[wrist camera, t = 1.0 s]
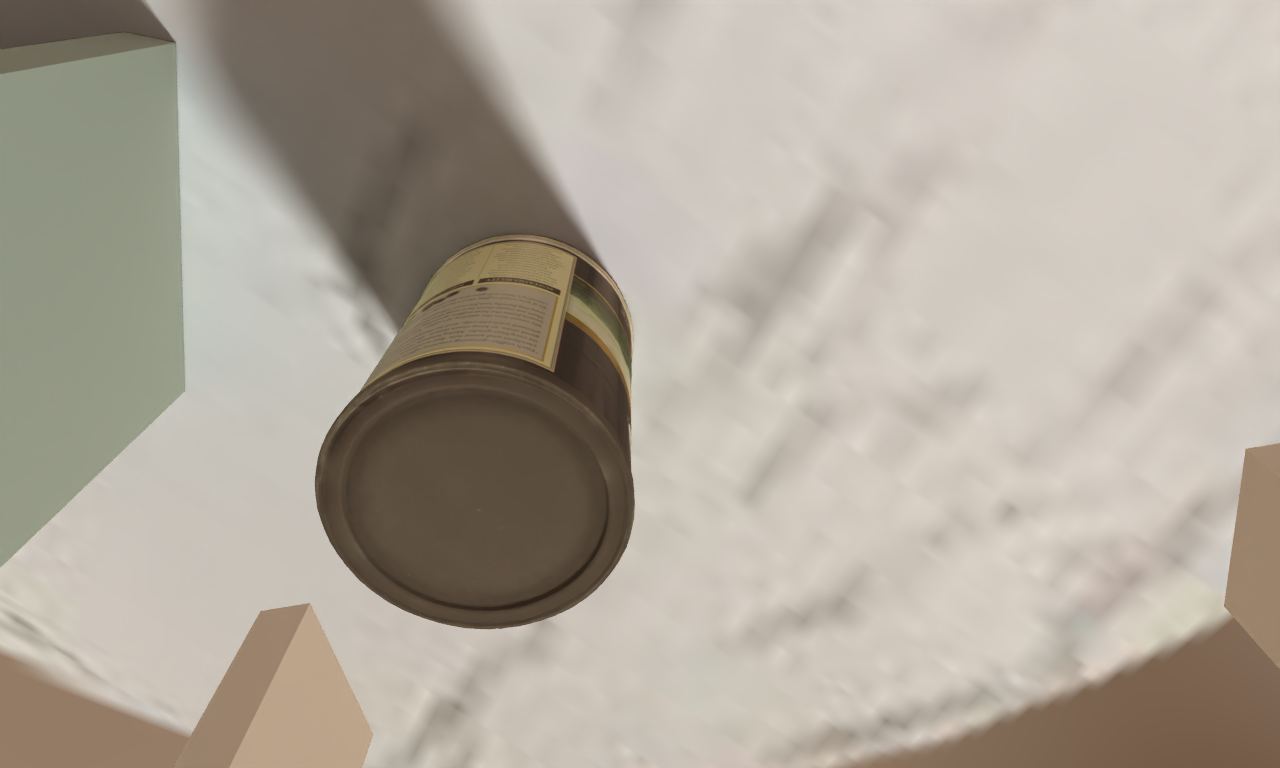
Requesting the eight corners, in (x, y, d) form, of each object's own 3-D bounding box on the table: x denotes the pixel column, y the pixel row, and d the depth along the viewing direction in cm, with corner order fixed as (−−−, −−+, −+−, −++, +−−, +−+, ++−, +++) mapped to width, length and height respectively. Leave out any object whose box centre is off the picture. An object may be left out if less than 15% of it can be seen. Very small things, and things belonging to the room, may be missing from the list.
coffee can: (676, 302, 40) (695, 462, 27) (566, 466, 44) (539, 672, 31) (476, 186, 38) (394, 302, 25) (378, 370, 41) (265, 551, 29)
